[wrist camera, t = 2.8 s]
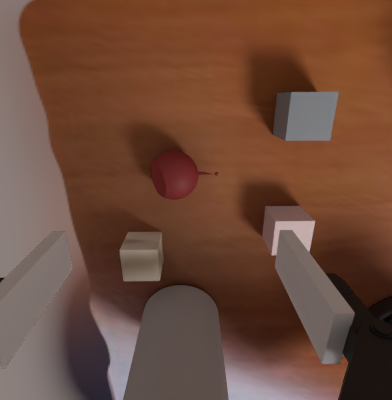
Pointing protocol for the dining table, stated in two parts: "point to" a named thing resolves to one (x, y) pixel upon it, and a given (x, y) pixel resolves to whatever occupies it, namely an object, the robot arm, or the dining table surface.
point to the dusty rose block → (287, 225)
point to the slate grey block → (304, 115)
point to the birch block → (142, 256)
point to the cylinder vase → (178, 349)
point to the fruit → (174, 174)
